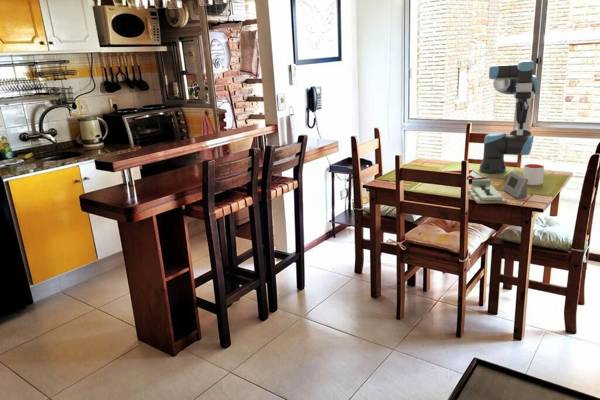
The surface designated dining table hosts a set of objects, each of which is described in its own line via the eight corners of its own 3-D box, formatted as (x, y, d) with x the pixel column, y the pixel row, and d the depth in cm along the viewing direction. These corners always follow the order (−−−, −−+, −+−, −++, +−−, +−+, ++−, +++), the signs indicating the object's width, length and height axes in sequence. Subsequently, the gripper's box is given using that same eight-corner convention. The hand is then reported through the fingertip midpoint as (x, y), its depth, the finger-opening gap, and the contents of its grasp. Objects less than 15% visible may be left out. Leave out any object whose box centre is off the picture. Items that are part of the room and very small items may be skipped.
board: (464, 186, 253) (464, 179, 251) (490, 186, 251) (491, 179, 250) (477, 203, 225) (477, 195, 224) (506, 203, 223) (507, 194, 222)
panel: (470, 187, 246) (471, 179, 244) (490, 187, 244) (490, 179, 243) (481, 200, 225) (482, 191, 224) (502, 199, 224) (503, 191, 222)
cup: (544, 186, 245) (546, 168, 242) (524, 186, 247) (526, 168, 244) (539, 181, 255) (541, 163, 252) (520, 181, 257) (521, 164, 254)
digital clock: (502, 189, 244) (503, 170, 241) (520, 189, 242) (522, 170, 239) (509, 199, 229) (511, 178, 226) (529, 199, 227) (531, 178, 224)
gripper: (512, 90, 249) (508, 133, 256) (520, 92, 237) (516, 137, 244) (526, 89, 248) (522, 132, 255) (535, 91, 236) (531, 136, 243)
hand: (519, 134), depth 250 cm, fingers closed
